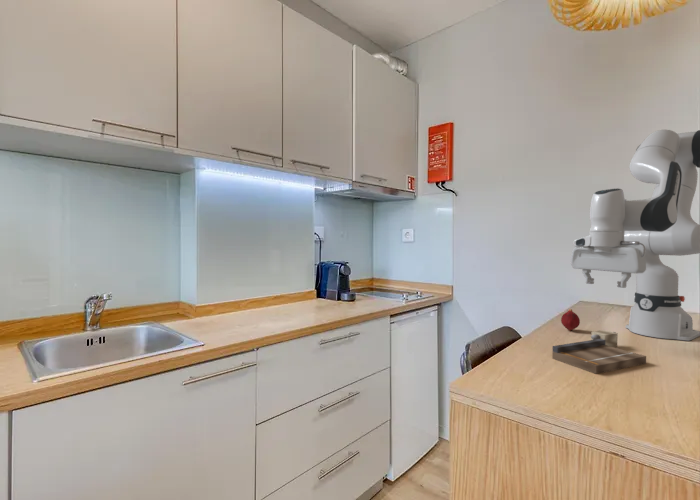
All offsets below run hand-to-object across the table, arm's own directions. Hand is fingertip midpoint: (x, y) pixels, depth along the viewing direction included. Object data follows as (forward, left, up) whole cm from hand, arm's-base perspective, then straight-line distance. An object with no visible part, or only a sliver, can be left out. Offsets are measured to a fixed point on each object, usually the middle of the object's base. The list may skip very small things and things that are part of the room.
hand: (605, 285), depth 107 cm
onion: (-8, -17, -19) cm, 27 cm away
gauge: (0, 0, -19) cm, 19 cm away
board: (+15, +8, -19) cm, 26 cm away
